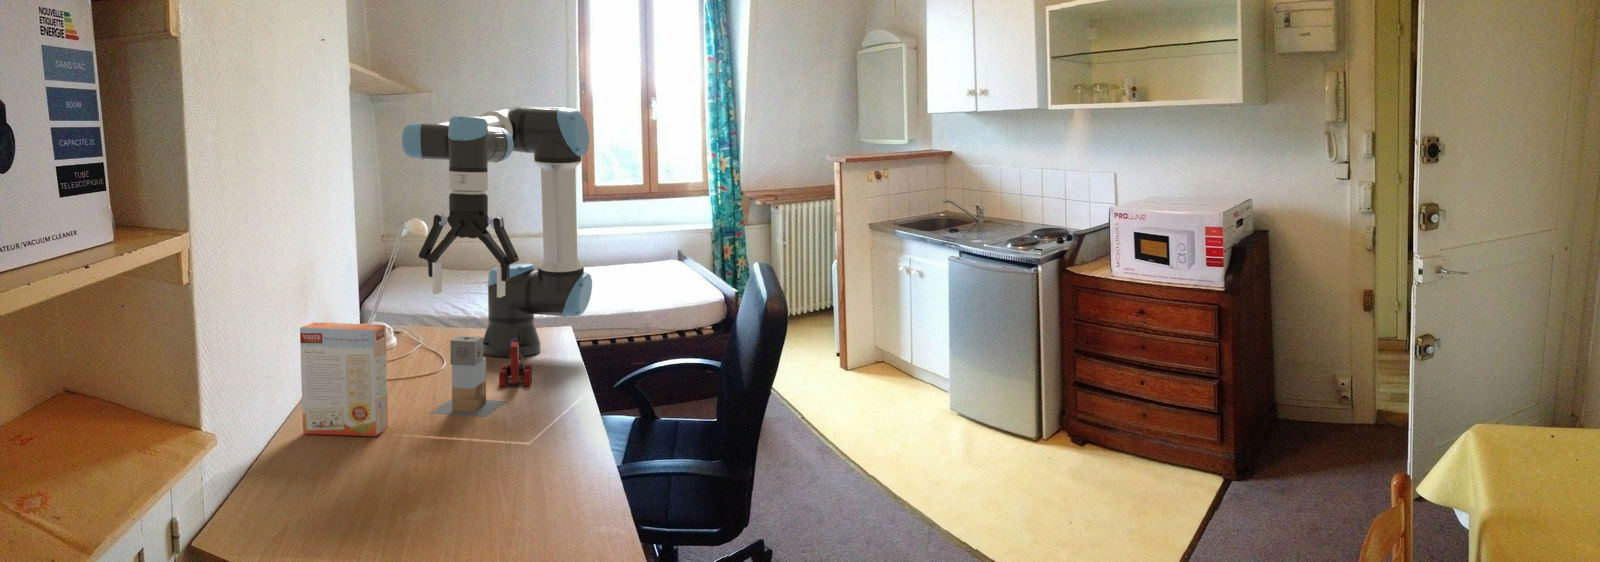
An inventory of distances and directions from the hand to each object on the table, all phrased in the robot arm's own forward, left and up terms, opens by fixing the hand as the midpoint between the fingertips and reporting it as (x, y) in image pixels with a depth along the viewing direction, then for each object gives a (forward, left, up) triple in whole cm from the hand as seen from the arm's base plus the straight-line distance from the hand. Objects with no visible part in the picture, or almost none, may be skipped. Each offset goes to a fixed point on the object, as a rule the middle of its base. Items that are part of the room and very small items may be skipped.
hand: (469, 294), depth 204 cm
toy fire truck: (-22, +2, -25) cm, 33 cm away
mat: (0, 0, -24) cm, 24 cm away
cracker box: (+20, -16, -25) cm, 36 cm away
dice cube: (+2, 0, -14) cm, 14 cm away
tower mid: (0, 0, -19) cm, 19 cm away
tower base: (0, 0, -24) cm, 24 cm away
